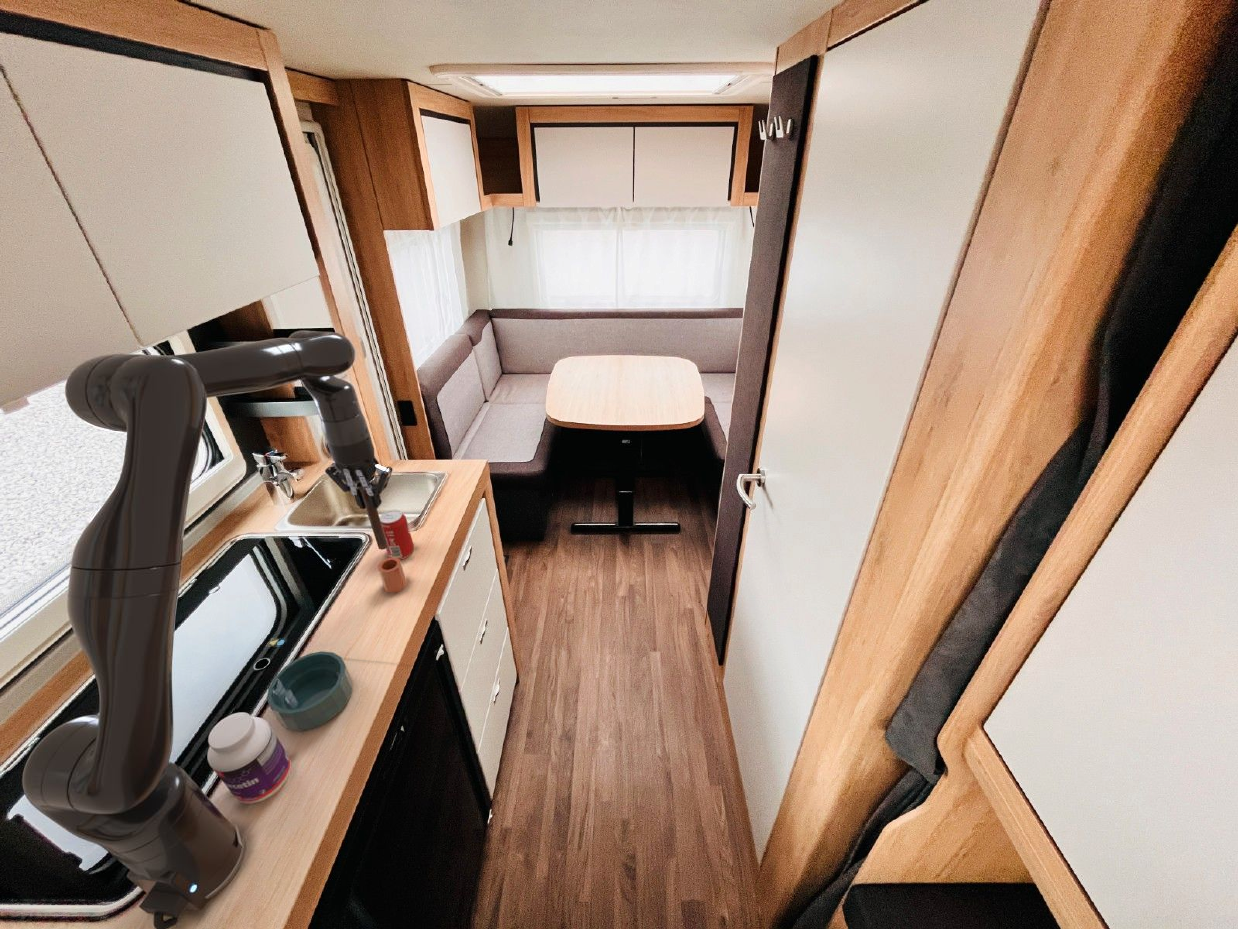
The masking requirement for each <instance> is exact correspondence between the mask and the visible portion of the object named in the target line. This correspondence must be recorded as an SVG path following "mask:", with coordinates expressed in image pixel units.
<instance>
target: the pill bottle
mask: <svg viewBox="0 0 1238 929" xmlns="http://www.w3.org/2000/svg"><path fill="white" fill-rule="evenodd" d="M207 738H208V739H207V742H208V745H209V747H208V750H207V755H206V756H207V762H208V765H209V766H210V768H211V769H212V770H213V771H214V773H215V774H216V775H217V777H219V779H220V780H221V782H222V783H223V784H224V785H225V786H226V788H227V789H228V790H229V791H230V793H231V794H232V795H233V797H234V798H235V799H236V800H237V801H238V802H240V803H242V804H249V805H251V804H257V803H260V802H262V801H265V800H267V799H268V798H270V797H272V796H273V795H274V794H276V793H277V792H278V791H279V790H280V789H281V788H282V787H283V786H284V784H285V783H286V782H287V780H288V779H289V775H290V773H291V770H292V760H291V757H290V756H289V754H288V752H287V750H286V749H285V748H284V747H283V745H282V743H281V741H280V740H279V738H278V736H277V735H276V733H275V732H274V730H273V729H272V727H271V725H270V724H269V722H268V721H267V720H266V719H264V718H262V717H258V716H252V715H251V714H249V713H248V712H245V711H244V712H242V711H241V712H235V713H232V714H230V715H227V716H225V717H224V718H223V719H221V720H220V721H219V722H217V723H216V725H215V726H213V727H212V729H211V731H210V732H209V735H208V737H207Z"/></svg>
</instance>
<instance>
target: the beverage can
mask: <svg viewBox="0 0 1238 929" xmlns="http://www.w3.org/2000/svg"><path fill="white" fill-rule="evenodd" d="M379 517H380V521H381V524H382V527H383V530H384V533H385V536H386V540H387V543H388V547H387V548H386V549H385V550H386V553H387V556H388V558H392V557H393V558H398V559H399V560H403V559H406V558H408V557H409V556H411V554H412V553H413V552H414V550H415V544H414V541H413V538H412V533H411V530H410V526H409V524H408V518H407V517H406V515H405V514H404V513H402V511H400V510H398V509H391V510H387V511H385V512H383V513H382V514H381V515H379Z"/></svg>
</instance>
